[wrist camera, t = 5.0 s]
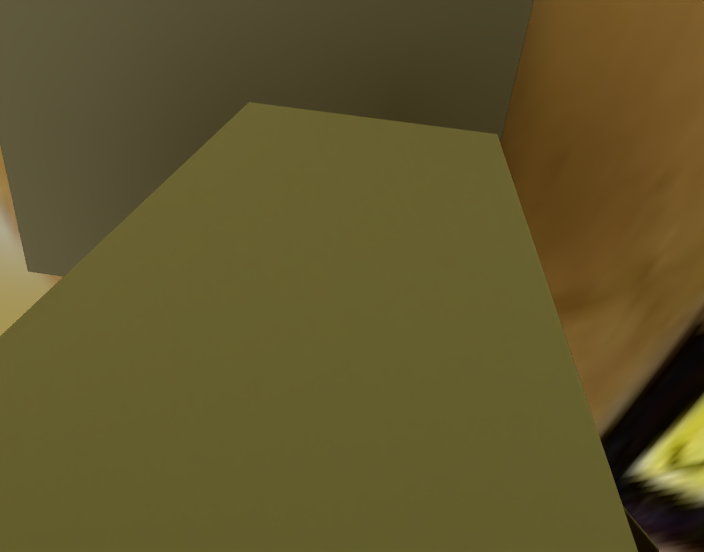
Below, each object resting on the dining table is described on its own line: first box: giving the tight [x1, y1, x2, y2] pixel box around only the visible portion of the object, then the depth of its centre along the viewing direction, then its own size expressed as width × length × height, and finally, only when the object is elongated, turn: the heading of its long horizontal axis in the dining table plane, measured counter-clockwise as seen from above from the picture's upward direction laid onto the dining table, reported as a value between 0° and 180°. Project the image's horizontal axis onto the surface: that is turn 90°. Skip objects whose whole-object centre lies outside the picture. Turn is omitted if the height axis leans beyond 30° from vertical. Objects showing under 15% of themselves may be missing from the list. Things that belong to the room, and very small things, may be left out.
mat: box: [0, 0, 533, 276], centre depth 18 cm, size 16×13×1 cm
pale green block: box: [0, 102, 638, 552], centre depth 7 cm, size 4×6×9 cm, turn 175°
